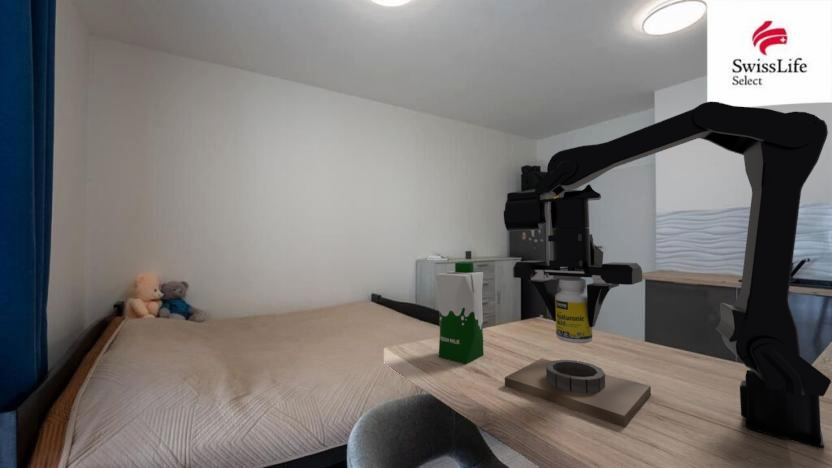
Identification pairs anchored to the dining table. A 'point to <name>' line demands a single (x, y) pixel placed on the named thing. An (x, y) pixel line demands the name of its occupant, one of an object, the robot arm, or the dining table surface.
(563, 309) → the supplement bottle
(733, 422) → the dining table surface
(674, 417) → the dining table surface
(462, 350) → the milk carton
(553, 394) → the socket board
